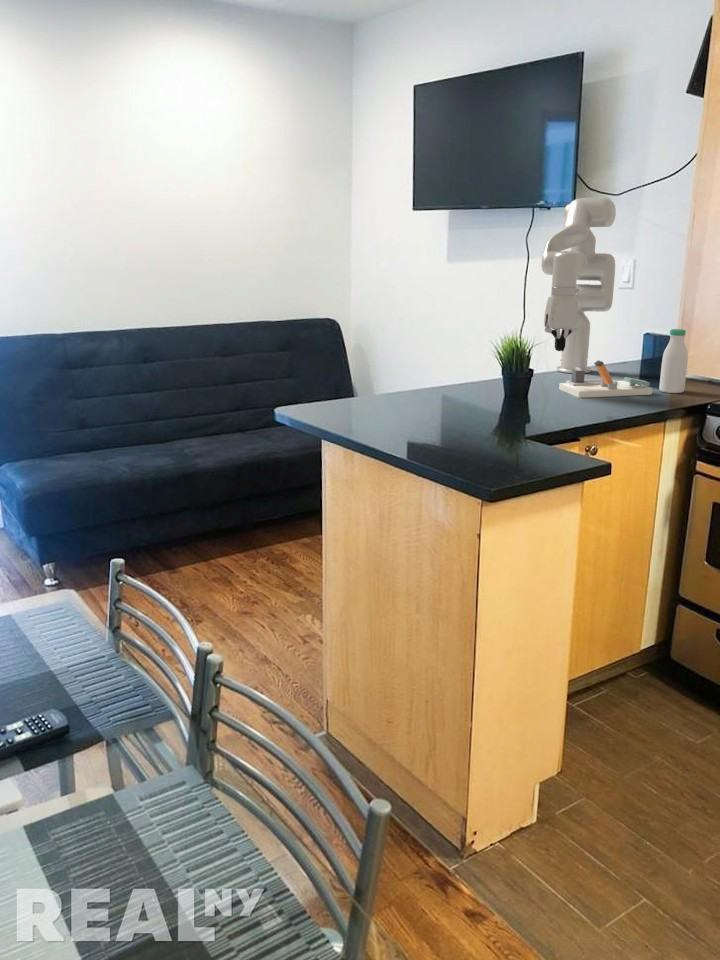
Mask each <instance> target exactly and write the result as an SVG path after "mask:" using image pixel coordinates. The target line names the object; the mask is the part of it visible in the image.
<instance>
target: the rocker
mask: <svg viewBox="0 0 720 960" xmlns="http://www.w3.org/2000/svg"><path fill="white" fill-rule="evenodd" d="M623 380H624V381H626V382H629V383H634V384H637V385H640V386H642V385H644V386H647V387H650V384H651V382H648V381H646V380H642V379H637V378H632V377H627V376H624V377H623Z"/></svg>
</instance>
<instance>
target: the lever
mask: <svg viewBox="0 0 720 960" xmlns="http://www.w3.org/2000/svg"><path fill="white" fill-rule="evenodd" d="M593 364H594V366H595V368H596V370H597V371H598V374H599V375H600V377H601V378H600V379H603V381H604V383H605V384H607V385H608V383H613V381H612V380H613V379H612V377H611V375H610V373H609V371H608V369H607V368H606V366H605V363H604V361H602V360H599V359H598V360H596V361H595V362H594V363H593Z"/></svg>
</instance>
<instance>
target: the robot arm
mask: <svg viewBox="0 0 720 960" xmlns="http://www.w3.org/2000/svg"><path fill="white" fill-rule="evenodd" d="M616 211H617V210H616V204H615V203H614V202H613V201H612V200H611V199H609V198H607V197H582V198H576V199H573V200H572V201H571V202H570V203H568V204H567V205H566V206H565V207H564V213H563V215H564V223H563V228H562V229H561V230H559V231H557V232H556V233H554V235H553V236H551V237H550V238H549V239H548V240H547V242H546V244H545V246H544V248H543V249H544V251H543V255H542V257H541V270H542V272H543V273H544V274H546V275H548V276H552V277H551V278H552V279H551V294H550V296H548V298H547V301H546V305H545V306H546V307H545V312H544V318H543V326H544V332H545V333H549V334H551V335H552V336H553V338H554V349H555V351H557V352H561V359H560V365H559V366H556V370H555V371H557V372H560V373H563V374H565V373H567V374H572V370H573V369H575V368H577V367H578V368H580V369H582V370H584V371H585V374H586V373H587V374H588V373H591V372H592V368H591V367H589V366H588V361H589V360H588V358H589V349H590V348H589V346H590V333H591V332H590V331H591V322H590V320H589V318H588V316H587V315H586V314H585V312H595V313H597V312H598V313H599V312H600V313H601V312H608V311H609V310H610V309H611V308H612V305H613V300H614V289H615V288H614V286H615V277H616V260H615V257H614V256H613V255H612V254H611V253H605V252H604V253H602V252H601V253H596V241H597V240H596V236H595V234H594V233H593V231H592V230H591V229H590V228H609V227H611V226H612V225H613V224H614V222H615V219H616V215H617V214H616V213H617V212H616ZM568 249H570V251H569V250H568ZM577 281H592V282H593V281H595V282H596V281H597V282H600V284H590V283H589V284H587V283H586V284H585V283H583V284H582V283H577Z"/></svg>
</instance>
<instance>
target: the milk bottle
mask: <svg viewBox="0 0 720 960" xmlns="http://www.w3.org/2000/svg"><path fill="white" fill-rule="evenodd" d="M669 337H670V339H669V342H668V344H667V346H666V348H665V349H664V351H663V353H662V359H661V360H662V361H661V369H660V378H659V387H658V388H659V392H663V393H668V394H681V393H684V391H685V390H686V389H685V387H686V378H687V371H688V370H687V369H688V357H689V355H688V350H687V346H686V344H685V338H686V329H681V328H673V329H670V331H669Z"/></svg>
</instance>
